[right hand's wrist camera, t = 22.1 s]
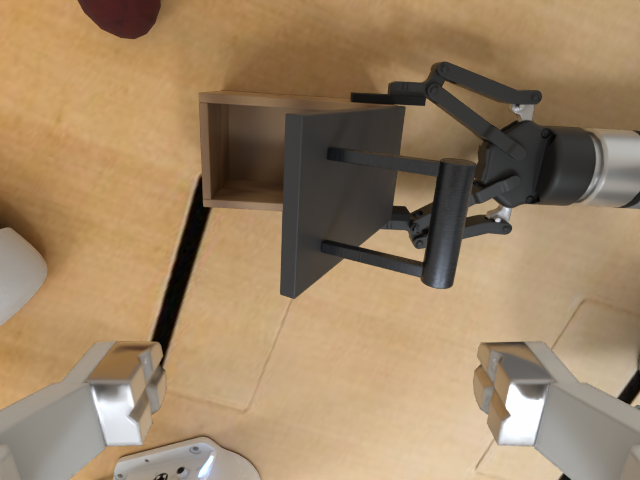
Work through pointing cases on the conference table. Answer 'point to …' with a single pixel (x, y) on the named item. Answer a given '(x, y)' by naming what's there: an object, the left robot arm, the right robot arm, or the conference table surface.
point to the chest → (251, 144)
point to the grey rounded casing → (18, 273)
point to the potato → (123, 15)
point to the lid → (361, 196)
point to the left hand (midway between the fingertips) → (347, 156)
